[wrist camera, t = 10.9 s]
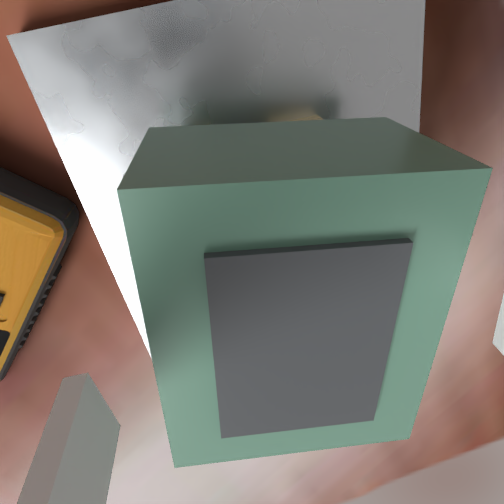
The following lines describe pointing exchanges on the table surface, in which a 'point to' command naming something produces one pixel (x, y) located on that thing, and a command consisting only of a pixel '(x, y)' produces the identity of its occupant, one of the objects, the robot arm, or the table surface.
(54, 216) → the electronic device
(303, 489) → the table surface
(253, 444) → the block
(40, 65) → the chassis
